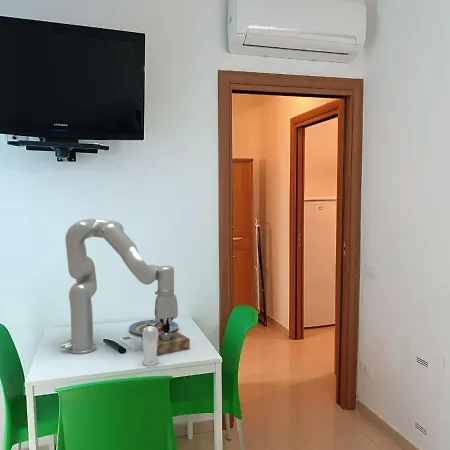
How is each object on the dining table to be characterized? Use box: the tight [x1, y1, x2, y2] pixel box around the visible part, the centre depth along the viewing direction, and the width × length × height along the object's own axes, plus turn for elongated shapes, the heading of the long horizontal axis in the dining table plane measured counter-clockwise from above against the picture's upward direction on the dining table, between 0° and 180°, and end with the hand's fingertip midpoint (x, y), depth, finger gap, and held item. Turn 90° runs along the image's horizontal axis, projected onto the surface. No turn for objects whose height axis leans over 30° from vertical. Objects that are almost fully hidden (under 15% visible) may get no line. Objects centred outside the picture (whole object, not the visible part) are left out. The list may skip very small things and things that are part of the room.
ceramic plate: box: [128, 319, 179, 335], centre depth 238 cm, size 26×26×3 cm
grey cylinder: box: [160, 331, 172, 341], centre depth 209 cm, size 4×4×8 cm
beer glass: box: [141, 326, 159, 367], centre depth 191 cm, size 7×7×15 cm
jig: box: [157, 331, 191, 357], centre depth 209 cm, size 18×12×6 cm, turn 123°
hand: (166, 331), depth 209 cm, fingers closed
